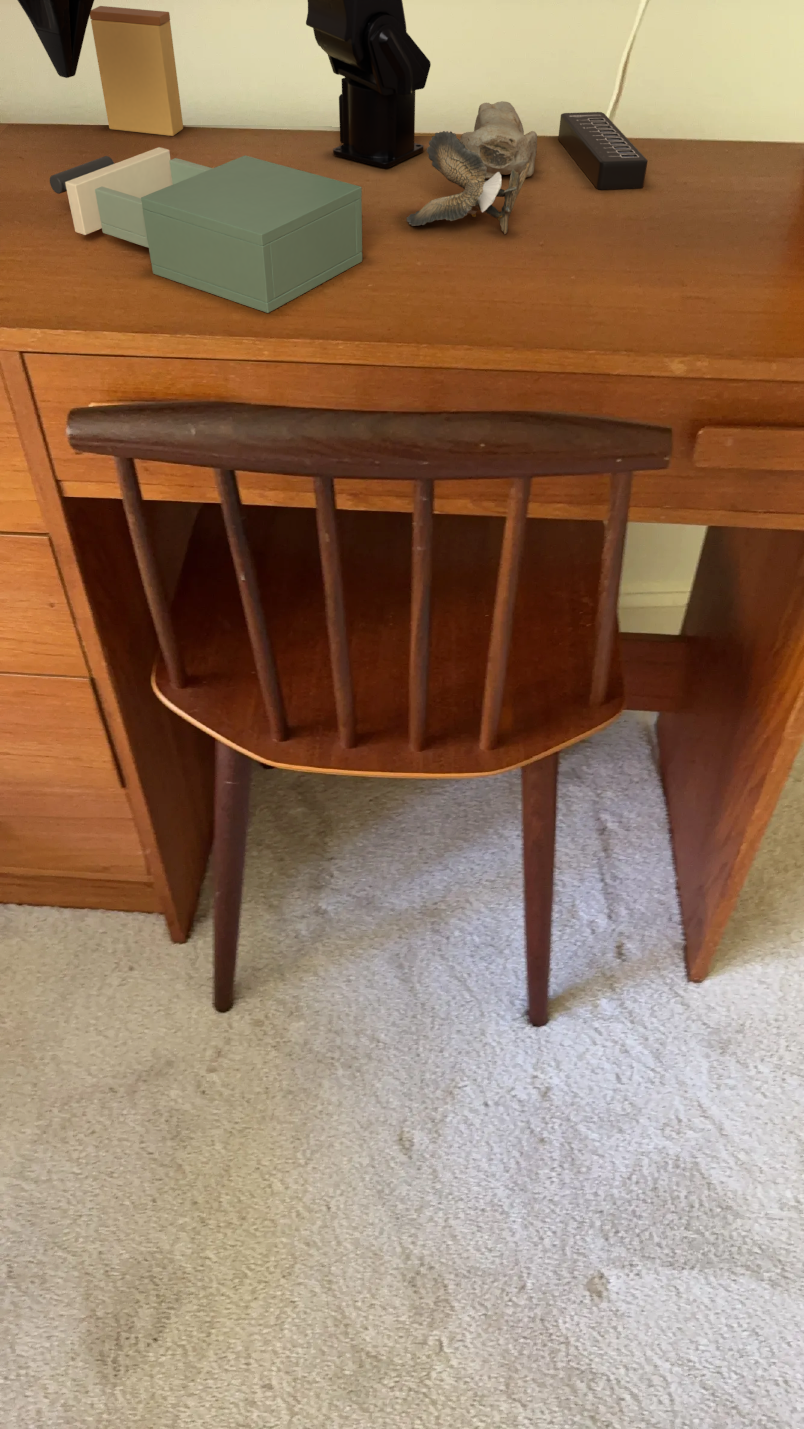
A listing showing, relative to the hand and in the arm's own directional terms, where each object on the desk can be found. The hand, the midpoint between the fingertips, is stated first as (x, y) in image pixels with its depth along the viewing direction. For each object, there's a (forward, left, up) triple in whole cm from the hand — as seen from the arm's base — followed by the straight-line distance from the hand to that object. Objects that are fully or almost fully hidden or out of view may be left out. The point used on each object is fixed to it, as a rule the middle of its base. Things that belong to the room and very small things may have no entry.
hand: (66, 75), depth 81 cm
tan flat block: (+13, -19, -10) cm, 25 cm away
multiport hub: (-28, -38, -10) cm, 49 cm away
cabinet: (-18, 0, -10) cm, 21 cm away
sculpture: (-20, -32, -10) cm, 39 cm away
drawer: (-6, 0, -9) cm, 11 cm away
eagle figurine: (-26, -17, -10) cm, 33 cm away
